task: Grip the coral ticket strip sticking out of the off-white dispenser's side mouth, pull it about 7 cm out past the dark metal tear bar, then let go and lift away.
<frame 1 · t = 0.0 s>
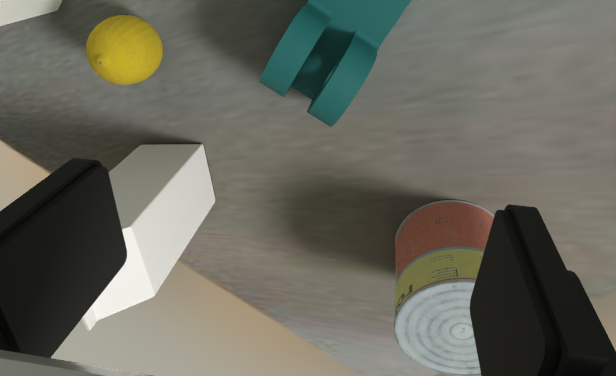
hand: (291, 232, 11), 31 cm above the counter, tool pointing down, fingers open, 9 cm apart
lemon: (149, 39, 42), on the counter
canned food: (448, 243, 48), on the counter
milk carton: (180, 171, 49), on the counter
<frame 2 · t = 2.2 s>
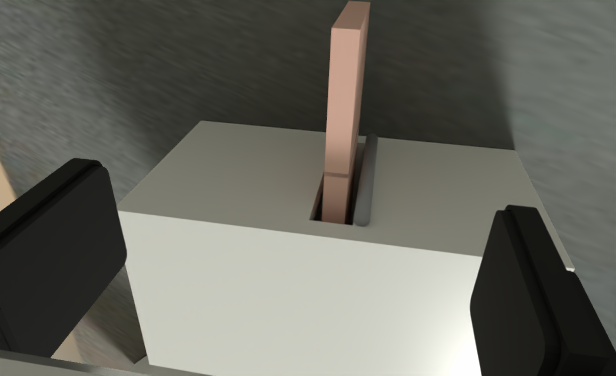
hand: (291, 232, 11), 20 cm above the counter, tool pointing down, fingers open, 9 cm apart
ticket dispenser: (344, 206, 34), on the counter
milk carton: (176, 369, 49), on the counter
ticket strip: (341, 174, 27), point 6 cm above the counter, slide at 0.0 cm
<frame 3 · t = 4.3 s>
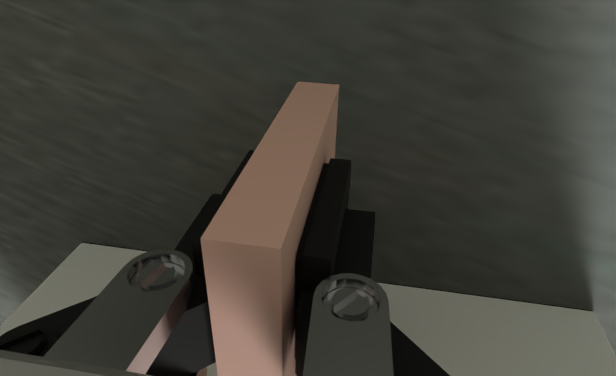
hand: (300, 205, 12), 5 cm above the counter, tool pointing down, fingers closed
ticket dispenser: (313, 365, 22), on the counter
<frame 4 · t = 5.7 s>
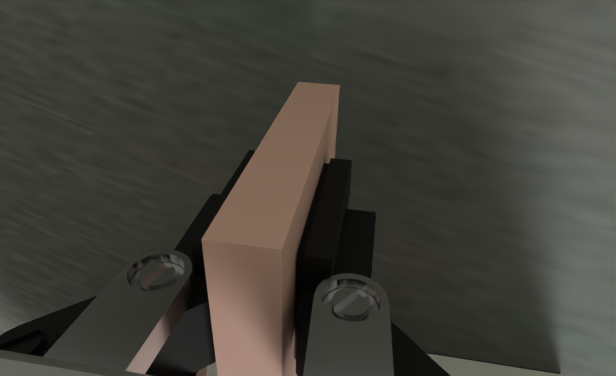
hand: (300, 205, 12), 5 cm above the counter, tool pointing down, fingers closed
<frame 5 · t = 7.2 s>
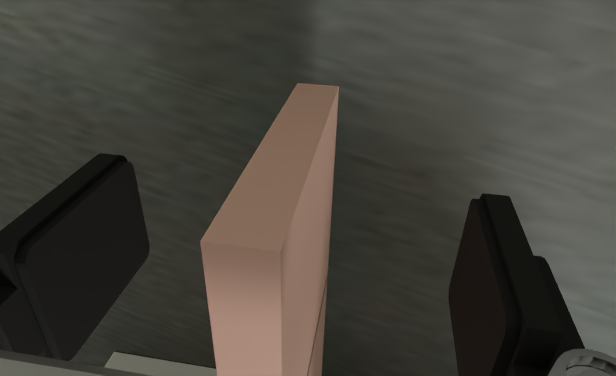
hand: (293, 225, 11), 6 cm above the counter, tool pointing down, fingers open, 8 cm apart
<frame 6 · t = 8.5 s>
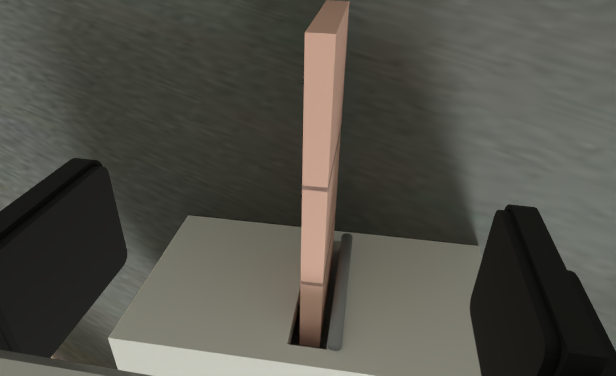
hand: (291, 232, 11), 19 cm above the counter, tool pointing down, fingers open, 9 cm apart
ticket dispenser: (324, 288, 37), on the counter
ticket strip: (322, 184, 25), point 6 cm above the counter, slide at 7.5 cm
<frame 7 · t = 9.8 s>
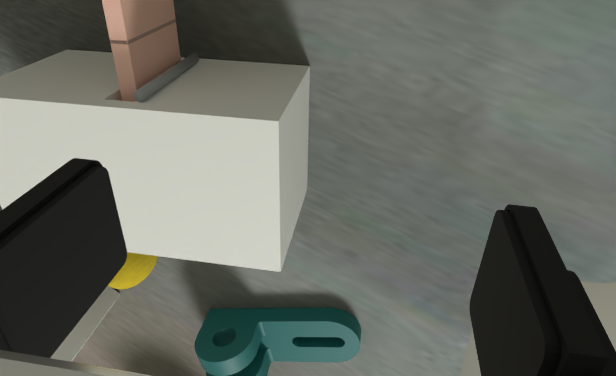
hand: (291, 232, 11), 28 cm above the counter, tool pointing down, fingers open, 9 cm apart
lemon: (147, 232, 50), on the counter
ticket dispenser: (191, 122, 42), on the counter
milk carton: (85, 287, 57), on the counter
bracket: (287, 325, 54), on the counter
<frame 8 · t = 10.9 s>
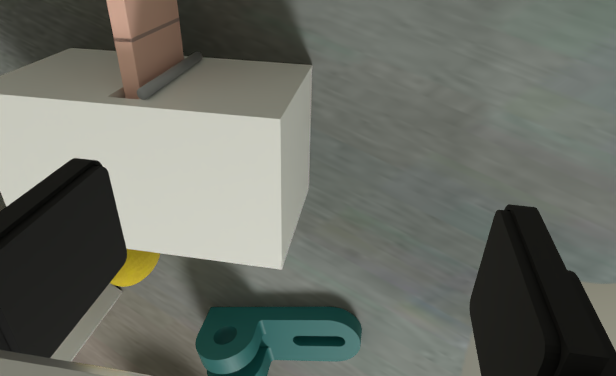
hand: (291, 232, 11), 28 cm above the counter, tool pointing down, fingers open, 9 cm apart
lemon: (149, 230, 50), on the counter
ticket dispenser: (194, 120, 42), on the counter
milk carton: (88, 285, 57), on the counter
bracket: (287, 324, 55), on the counter
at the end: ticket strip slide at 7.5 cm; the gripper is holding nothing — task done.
